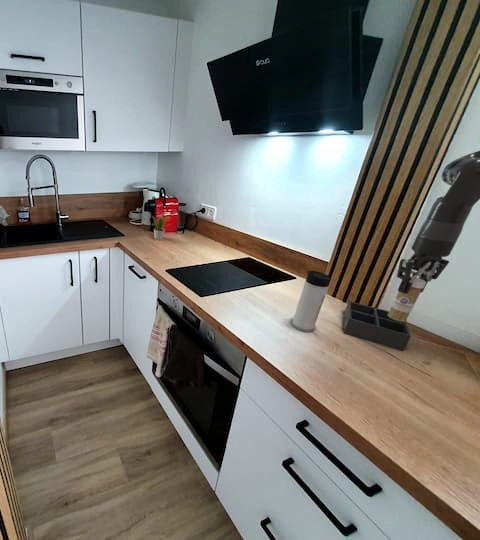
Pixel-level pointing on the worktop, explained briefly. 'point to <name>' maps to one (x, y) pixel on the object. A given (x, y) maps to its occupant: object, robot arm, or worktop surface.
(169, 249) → the worktop surface
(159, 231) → the house plant
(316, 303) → the travel mug
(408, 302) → the sprinkles bottle
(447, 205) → the robot arm
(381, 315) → the box
